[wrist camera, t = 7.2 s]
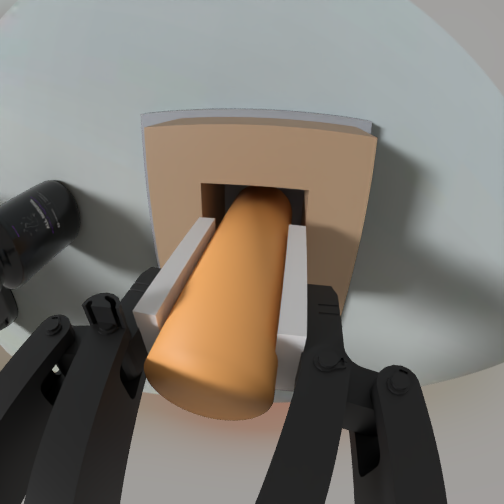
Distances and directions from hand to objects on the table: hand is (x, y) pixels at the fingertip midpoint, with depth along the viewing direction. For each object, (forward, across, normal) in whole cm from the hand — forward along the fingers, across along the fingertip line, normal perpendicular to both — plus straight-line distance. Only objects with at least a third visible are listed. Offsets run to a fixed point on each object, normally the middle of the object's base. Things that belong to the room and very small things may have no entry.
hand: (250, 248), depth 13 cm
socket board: (+7, -1, -5) cm, 9 cm away
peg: (+4, 0, 0) cm, 4 cm away
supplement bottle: (+7, -20, -2) cm, 22 cm away
